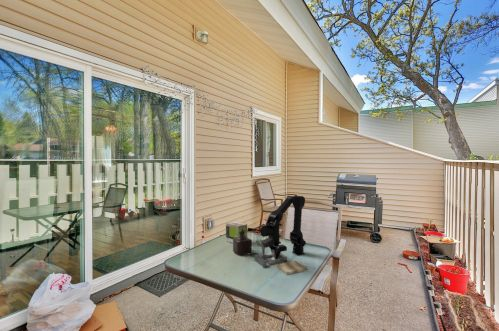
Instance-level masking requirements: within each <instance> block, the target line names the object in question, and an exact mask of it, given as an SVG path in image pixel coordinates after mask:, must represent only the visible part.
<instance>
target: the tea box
mask: <svg viewBox="0 0 499 331" xmlns="http://www.w3.org/2000/svg"><path fill="white" fill-rule="evenodd" d="M241 229H243V231H245V234H246V237H248V223H243V222H238V221H230V222H227V223H225V240H226V241H225V242H227V241H228V242H227V243H230V242H231V243H230V244H233V238H237V237H239V236H240V234H239V231H240V230H241ZM243 236H244V235H243Z"/></svg>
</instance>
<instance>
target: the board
mask: <svg viewBox="0 0 499 331" xmlns="http://www.w3.org/2000/svg"><path fill="white" fill-rule="evenodd" d="M275 267H276V268H277V269H278V270H280V271H281V272H282V273H283V274H286V275H291V274H295V273H300V272H304V271H308V267H306V266H305V265H303V264H302V263H300V262H299V261H297V260H293V261H287V262H286V263H283V262H281V263H279V264H278V263H276V264H275Z"/></svg>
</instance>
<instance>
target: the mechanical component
mask: <svg viewBox="0 0 499 331" xmlns="http://www.w3.org/2000/svg"><path fill="white" fill-rule="evenodd" d="M263 240H264V239H256V240H255V243H256V246H257V247H261V249H262V250H261V251H262V252H261V254H262V255H261V256H265V254H266V252H265V249H266V248H265V247H264V246H263V244H262V241H263Z"/></svg>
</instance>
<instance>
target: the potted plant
mask: <svg viewBox="0 0 499 331" xmlns="http://www.w3.org/2000/svg"><path fill="white" fill-rule="evenodd" d="M239 234H240V236H239V237H237V238H233V243H232V252H233V253H234V254H235V255H238V256H244V255H250V254H252V251H253V250H252V249H253V248H252V247H253V246H252V244H253V243H252V242H253V240H252V239H251V238H249V237H248V236H247V237H246V234H245V231H243V229H241V230H240V231H239ZM243 235H244V236H243Z"/></svg>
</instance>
